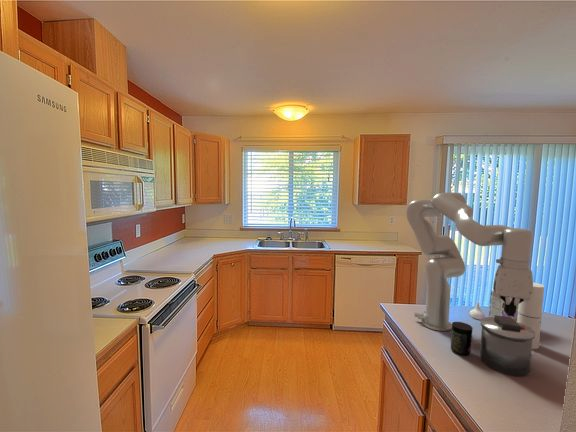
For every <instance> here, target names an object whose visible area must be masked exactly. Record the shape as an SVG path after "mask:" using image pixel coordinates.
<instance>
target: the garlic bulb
mask: <svg viewBox="0 0 576 432" xmlns="http://www.w3.org/2000/svg"><path fill="white" fill-rule="evenodd" d="M480 306H481V305H480V302H479V301H476V304H475V307H474V308H473V309H471V310H470V311H469V316H470V318H472V319H475V320H479V321H481V319H482V318H485V317H486V314H485V312H484V311H483V310H482V309H481V307H480Z"/></svg>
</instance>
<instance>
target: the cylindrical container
mask: <svg viewBox="0 0 576 432" xmlns="http://www.w3.org/2000/svg"><path fill="white" fill-rule="evenodd" d="M544 293H545V285H544V284H542V283H538V282H534V281H533V296H532V298H531V301H523V302H521V303H519V305H518V318H517V322H518V323H521V324H524V325H526V326H528V327H530V328H531V329H532V330H534V332H535V337H534V339H532V350H537V349H540V338H541V329H542V328H541V327H542V318H543V316H542V315H543V306H544V304H543V303H544V295H545V294H544Z"/></svg>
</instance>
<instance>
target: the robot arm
mask: <svg viewBox="0 0 576 432" xmlns="http://www.w3.org/2000/svg"><path fill="white" fill-rule="evenodd" d="M405 213H406V214H405V215H406V219H407V222H408V223H409V225H410V228H411V229H412V231H413V232H414V236H415V238H416V240H417V243H418V245H419V247H420V250H421V252H422V254H423V255H425V256H426V257H433V258H430V259H429V260H427V262H426V263H425V266H424V268H425V269H424V270H425V275H426V295H425V296H426V297H425V298H426V299H425V311H423V312H421V313H419V312H414V318H417V319H418V320H421V324H422V325H423V326H424V327H426V328H428V329H430V330H433V331H439V332H449V331H452V322H450V304H451V302H450V301H451V287H450V283H449V281H448V279H451V278H459V277H461V276H463V275H464V274H465V272H466V265H465V264H466V263H465V262H464V260H463V258H462V255H461V253H460V251H459V249H458V247H457V244H456V243H455V241H454V240H453V239H452V237H450V236H448V235H444V234H443V235H441V234H440V235H438V234H436V232H435V229H434V228H433V225H432V224H431V222H430V221H428V220H427V219H426V217H427V218H431V217H432V218H433V217H434V218H436V217H441V216H444V217H446V218H448V219H449V220H451V221H452V222H453V223H455V227H456V229H457V231H458V233H460V235H461V236H463V237H464V238H466V239H467V240H468V241H470V242H471V243H473V244H474V245H477V246H480V247H490V246H493V247H494V246H502V247H501V257H500V258H497V259H495V262H496V263H497V264H499V265H498V266H497V268H496V271H495V275H494V280H493V287H492V289H493V290H494V291H493V294H492V295H493V296H494V297H497V298H500V299H502V300H503V301H504V312H505V313H506V314H507V315H508V316H513V317H514V313H516V306H518V305H519V303H521V302H523V301H531V298H532V296H533V282H534V277H533V276H534V275H533V271H532V269H529V268H530V257H531V249H532V242H533V233H532V231H531V230H530V229H526V228H525V229H524V228H519V227H510V226H507V225H503V224H490V225H489V224H486V225H482V224H481V223H479V222H477V221H475V220H474V219H473V218H472V216H473V215H474V214H473V213H474V210H473V208H472V207H471V206H470V205H468V204H467V199H466V197H464V195H463V194H461V193H459V192H439V193H437V194H435V195H434V196H433V197H432V199H431V198H430V199H428V198H427V199H416V200H413V201H411V202H409V204H408V205H407V207H406V212H405ZM434 256H435V257H434ZM437 256H438V257H437ZM439 256H441V257H439ZM510 297H512V299H511V302H510Z"/></svg>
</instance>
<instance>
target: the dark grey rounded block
mask: <svg viewBox="0 0 576 432" xmlns="http://www.w3.org/2000/svg"><path fill="white" fill-rule="evenodd" d="M480 337H481V338H480V347H479V348H480V351H479V358H480V361H481V362H482V363H483V364H484V365H485V366H487V367H488V368H490V369H491V370H494V371H495V372H498V373H499V374H504V375H506V376H511V377H514V378H515V377H517V378H524V377H527V376H529V375H530V372H531V362H532V350H533V349H532V339H531V340H518V339H512V338H507V337H503V336H500V335H497V334H494V333H492V332H490V331H488V330H486V329H485V328H483V327H482V326H481V336H480Z"/></svg>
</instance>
